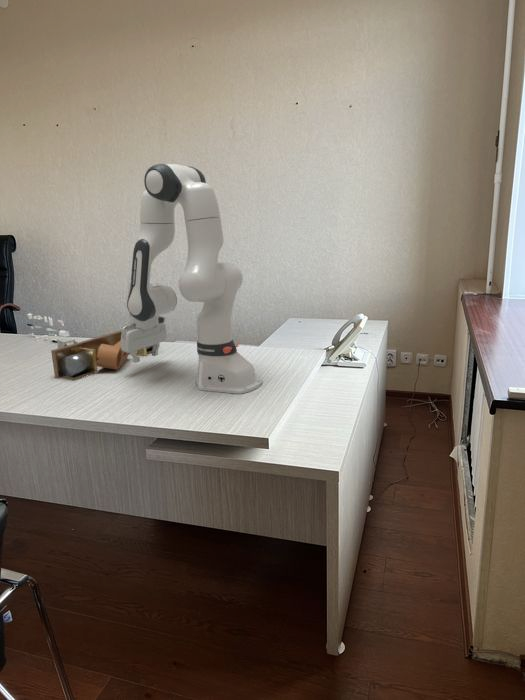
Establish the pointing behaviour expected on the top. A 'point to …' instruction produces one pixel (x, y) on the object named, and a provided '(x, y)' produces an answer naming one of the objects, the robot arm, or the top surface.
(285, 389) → the top surface
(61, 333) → the plumbing parts
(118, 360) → the tan piece
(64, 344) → the electrical component
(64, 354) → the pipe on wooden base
